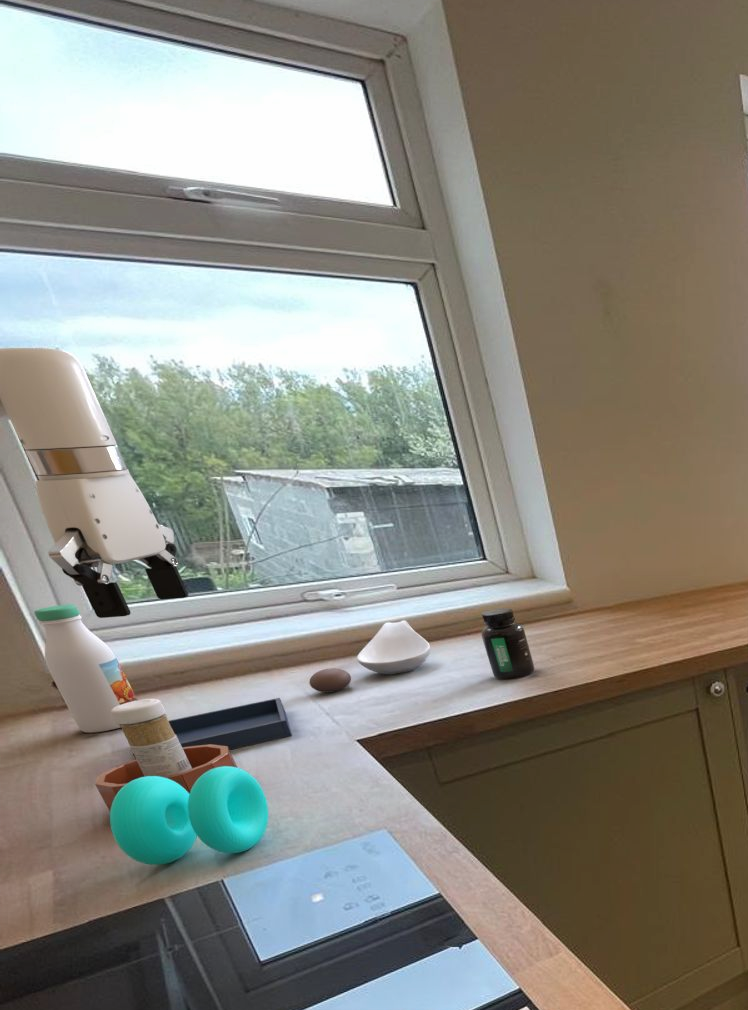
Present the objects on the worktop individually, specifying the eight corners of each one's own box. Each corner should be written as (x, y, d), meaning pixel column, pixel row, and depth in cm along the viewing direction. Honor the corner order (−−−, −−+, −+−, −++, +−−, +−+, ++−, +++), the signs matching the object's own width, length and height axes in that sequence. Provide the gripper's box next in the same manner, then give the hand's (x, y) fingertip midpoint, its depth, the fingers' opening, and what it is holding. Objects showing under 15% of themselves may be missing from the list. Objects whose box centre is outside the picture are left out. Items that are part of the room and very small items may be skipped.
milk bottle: (113, 733, 131) (51, 612, 123) (67, 734, 132) (2, 614, 124) (159, 715, 138) (103, 600, 131) (115, 716, 139) (57, 602, 131)
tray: (140, 770, 117) (132, 754, 116) (145, 742, 127) (138, 726, 126) (292, 735, 127) (285, 720, 126) (285, 711, 138) (279, 697, 137)
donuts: (240, 866, 90) (201, 787, 86) (130, 884, 88) (86, 802, 84) (284, 825, 99) (251, 751, 95) (186, 839, 97) (148, 764, 93)
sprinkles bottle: (180, 790, 110) (135, 698, 104) (213, 789, 110) (169, 696, 104) (147, 806, 105) (98, 711, 100) (181, 805, 105) (134, 709, 100)
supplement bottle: (513, 681, 148) (494, 617, 143) (485, 678, 150) (466, 615, 145) (543, 669, 154) (526, 607, 149) (516, 667, 156) (498, 606, 151)
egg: (306, 694, 146) (297, 673, 144) (341, 683, 151) (333, 663, 149) (327, 697, 144) (319, 676, 142) (362, 686, 149) (354, 665, 147)
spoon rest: (434, 671, 155) (422, 635, 153) (359, 684, 150) (346, 647, 147) (439, 643, 174) (428, 611, 171) (373, 653, 169) (361, 620, 166)
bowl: (110, 832, 99) (91, 795, 97) (118, 799, 108) (100, 765, 106) (244, 797, 107) (229, 763, 105) (241, 769, 116) (227, 737, 114)
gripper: (102, 460, 102) (162, 594, 109) (-28, 472, 87) (51, 627, 93) (170, 457, 104) (225, 589, 110) (54, 468, 88) (126, 621, 95)
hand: (145, 606), depth 102 cm, fingers open, 9 cm apart
